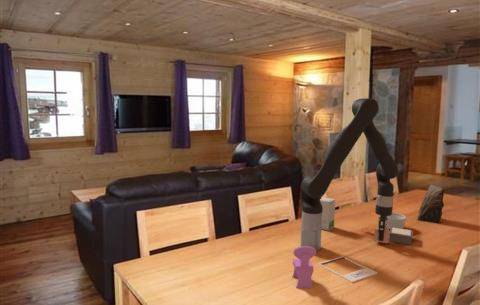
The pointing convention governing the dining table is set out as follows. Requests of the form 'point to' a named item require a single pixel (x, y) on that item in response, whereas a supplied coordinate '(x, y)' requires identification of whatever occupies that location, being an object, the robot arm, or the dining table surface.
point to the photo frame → (353, 275)
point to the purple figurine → (303, 266)
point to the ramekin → (396, 221)
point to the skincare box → (328, 213)
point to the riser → (400, 236)
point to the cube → (386, 234)
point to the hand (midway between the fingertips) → (381, 238)
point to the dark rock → (432, 205)
